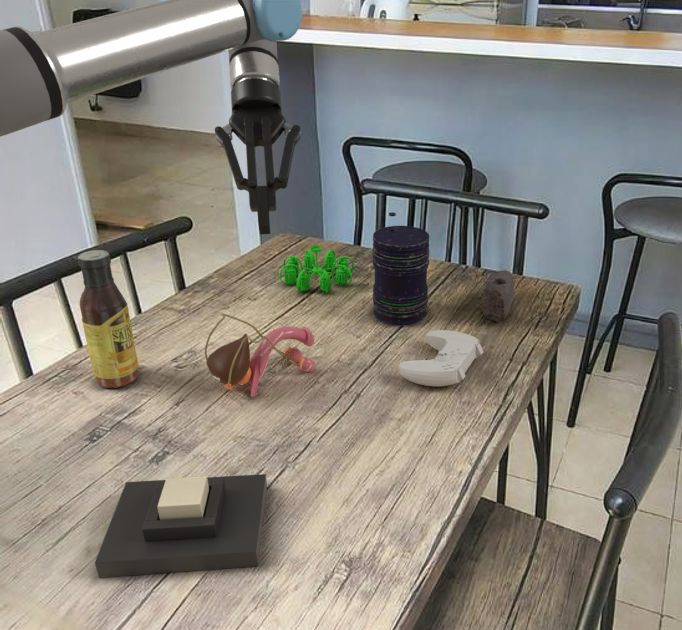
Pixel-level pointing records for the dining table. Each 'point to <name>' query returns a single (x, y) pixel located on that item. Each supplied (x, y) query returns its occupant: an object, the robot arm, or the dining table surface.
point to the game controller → (443, 359)
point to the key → (183, 498)
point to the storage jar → (400, 274)
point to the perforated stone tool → (498, 296)
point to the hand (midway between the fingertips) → (264, 230)
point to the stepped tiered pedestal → (185, 530)
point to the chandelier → (316, 270)
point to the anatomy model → (255, 356)
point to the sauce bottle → (106, 323)
